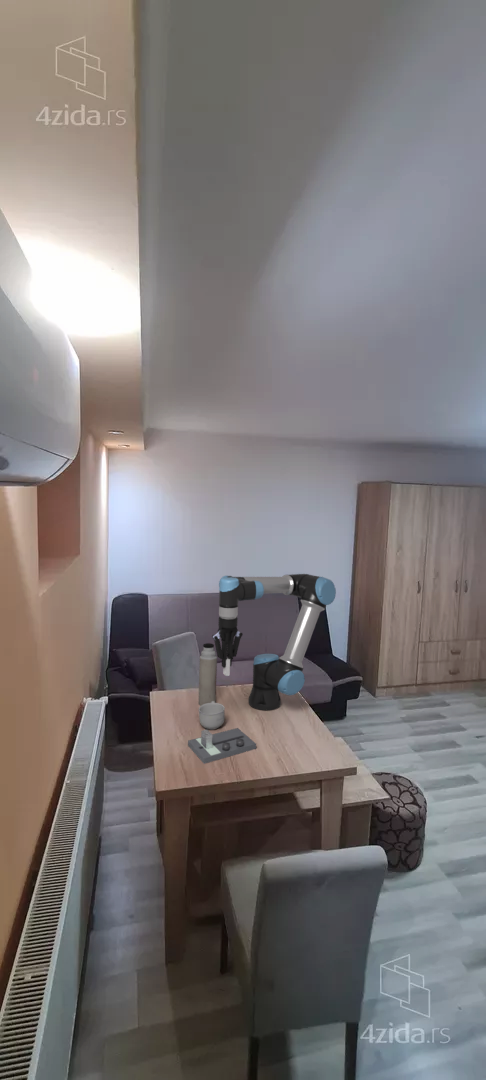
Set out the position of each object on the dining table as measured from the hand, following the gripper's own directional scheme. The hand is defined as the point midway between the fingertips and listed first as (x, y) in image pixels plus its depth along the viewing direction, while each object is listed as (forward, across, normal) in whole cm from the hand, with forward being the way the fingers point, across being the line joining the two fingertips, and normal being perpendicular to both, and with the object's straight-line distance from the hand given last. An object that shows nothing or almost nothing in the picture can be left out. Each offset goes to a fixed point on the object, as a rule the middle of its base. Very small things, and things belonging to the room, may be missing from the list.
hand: (226, 674), depth 185 cm
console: (+24, +6, +9) cm, 27 cm away
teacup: (+25, +1, -9) cm, 26 cm away
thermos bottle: (+25, -6, -28) cm, 38 cm away
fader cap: (+22, +13, +9) cm, 27 cm away
